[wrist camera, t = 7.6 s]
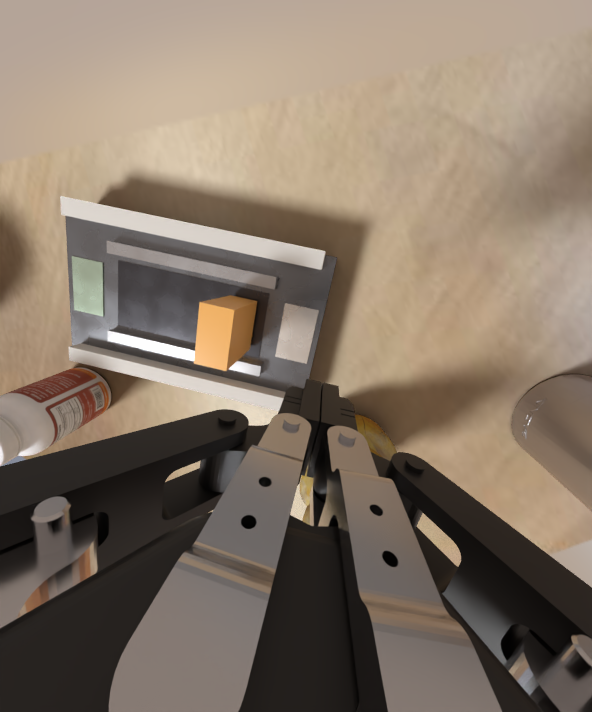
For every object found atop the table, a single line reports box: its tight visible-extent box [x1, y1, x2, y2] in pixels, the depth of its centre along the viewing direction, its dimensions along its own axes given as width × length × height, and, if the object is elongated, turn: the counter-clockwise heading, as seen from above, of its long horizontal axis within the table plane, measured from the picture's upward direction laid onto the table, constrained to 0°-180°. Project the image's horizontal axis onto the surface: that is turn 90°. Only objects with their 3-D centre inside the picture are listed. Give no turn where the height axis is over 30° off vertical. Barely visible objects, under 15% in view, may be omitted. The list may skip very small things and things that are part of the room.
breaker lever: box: [194, 295, 257, 371], centre depth 22 cm, size 2×4×6 cm, turn 168°
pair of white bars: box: [60, 196, 326, 411], centre depth 25 cm, size 22×14×1 cm, turn 78°
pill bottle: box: [0, 368, 111, 466], centre depth 28 cm, size 6×6×11 cm
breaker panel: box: [66, 216, 337, 392], centre depth 26 cm, size 24×14×4 cm, turn 79°
